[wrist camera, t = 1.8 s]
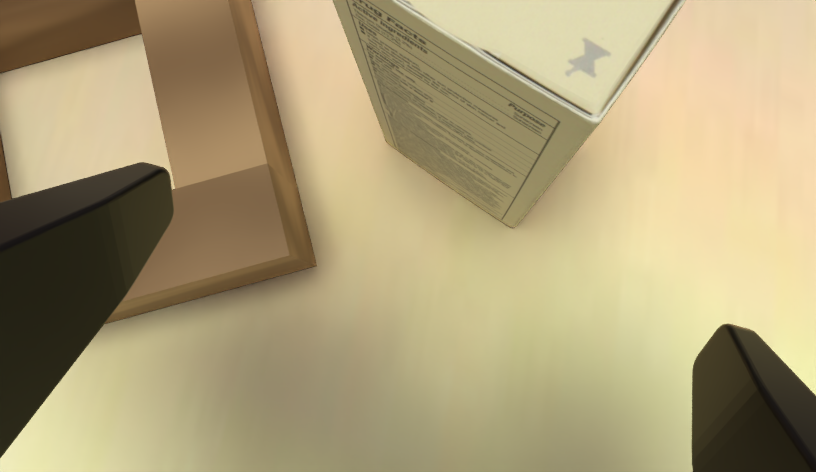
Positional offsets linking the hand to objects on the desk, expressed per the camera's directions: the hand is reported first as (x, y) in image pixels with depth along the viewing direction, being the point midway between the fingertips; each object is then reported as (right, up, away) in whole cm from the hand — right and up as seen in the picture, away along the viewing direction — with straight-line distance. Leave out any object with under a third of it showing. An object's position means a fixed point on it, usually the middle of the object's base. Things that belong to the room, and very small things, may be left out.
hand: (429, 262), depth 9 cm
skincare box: (+2, +4, +13) cm, 14 cm away
